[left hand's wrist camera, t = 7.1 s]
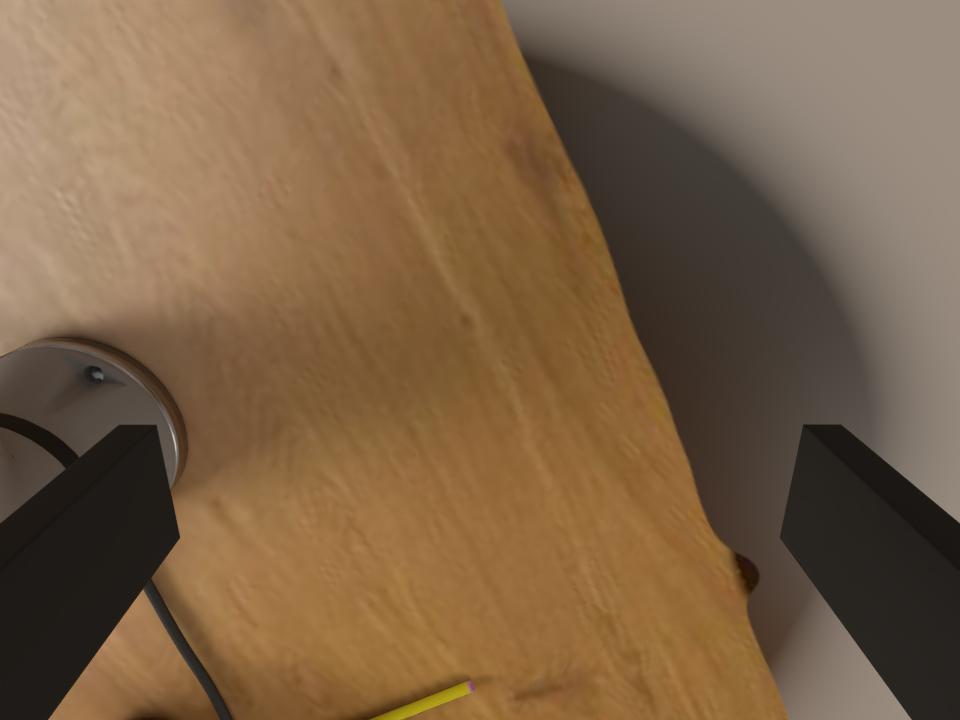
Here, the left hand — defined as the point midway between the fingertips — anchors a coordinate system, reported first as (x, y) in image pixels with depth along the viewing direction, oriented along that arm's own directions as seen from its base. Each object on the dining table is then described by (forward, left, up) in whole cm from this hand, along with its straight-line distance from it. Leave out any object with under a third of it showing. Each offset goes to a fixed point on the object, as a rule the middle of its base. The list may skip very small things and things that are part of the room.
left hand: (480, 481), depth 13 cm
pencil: (-41, +20, -31) cm, 55 cm away
